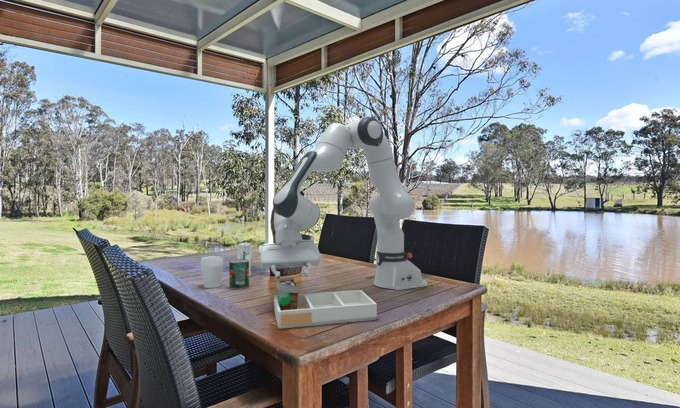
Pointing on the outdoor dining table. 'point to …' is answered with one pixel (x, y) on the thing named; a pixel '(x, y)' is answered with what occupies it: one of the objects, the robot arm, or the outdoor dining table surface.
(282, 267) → the robot arm
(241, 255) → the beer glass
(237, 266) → the canned tomato
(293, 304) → the food container
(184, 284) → the outdoor dining table surface
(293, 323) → the tray
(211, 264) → the cup
